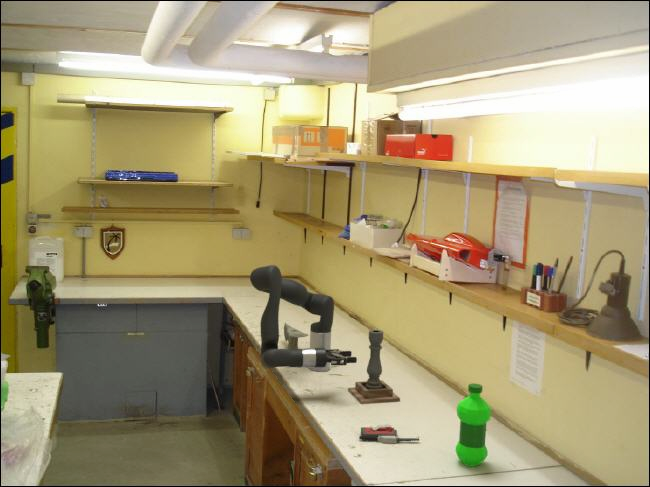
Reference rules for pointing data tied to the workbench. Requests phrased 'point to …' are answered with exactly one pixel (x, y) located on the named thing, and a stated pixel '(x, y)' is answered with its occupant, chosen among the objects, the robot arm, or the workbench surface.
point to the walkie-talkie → (382, 434)
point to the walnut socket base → (373, 393)
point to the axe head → (292, 336)
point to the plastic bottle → (473, 427)
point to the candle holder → (374, 360)
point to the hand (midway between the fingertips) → (353, 356)
